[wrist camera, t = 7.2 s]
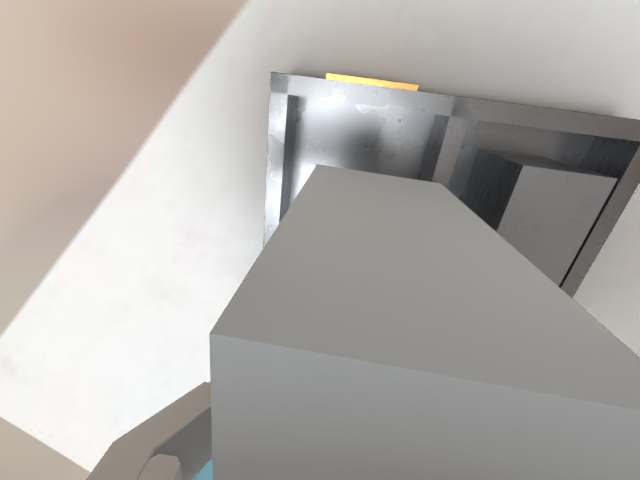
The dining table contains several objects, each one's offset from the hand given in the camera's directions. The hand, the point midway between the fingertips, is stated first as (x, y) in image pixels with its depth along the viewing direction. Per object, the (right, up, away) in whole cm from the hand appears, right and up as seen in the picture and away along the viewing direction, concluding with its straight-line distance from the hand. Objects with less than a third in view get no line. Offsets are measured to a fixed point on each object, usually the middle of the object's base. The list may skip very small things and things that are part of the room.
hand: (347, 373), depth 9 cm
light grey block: (0, +1, +3) cm, 3 cm away
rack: (+6, +6, +14) cm, 16 cm away
